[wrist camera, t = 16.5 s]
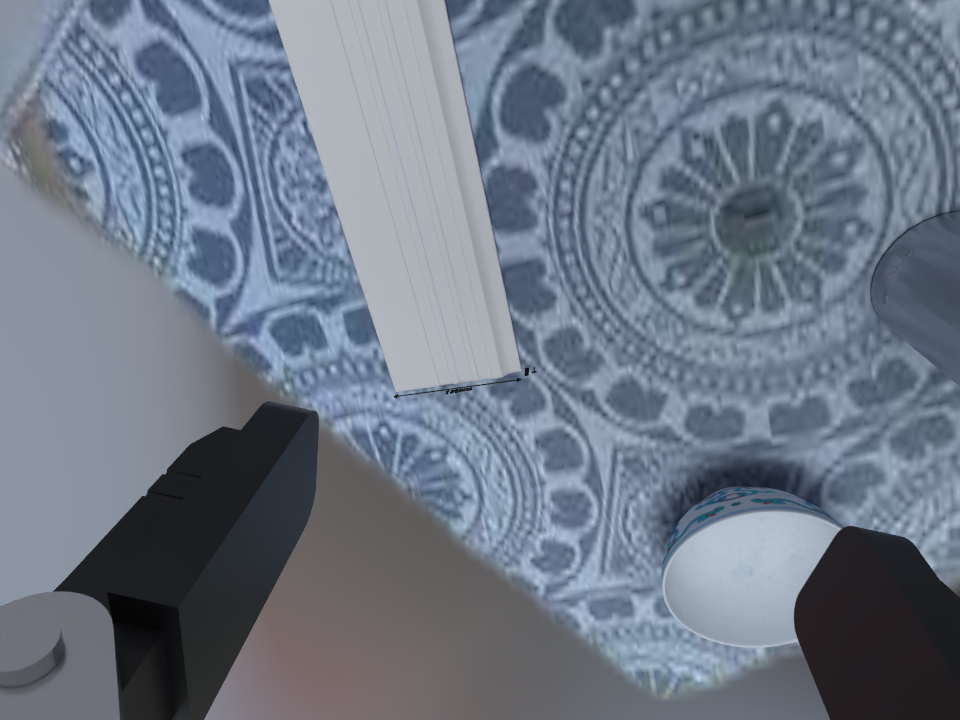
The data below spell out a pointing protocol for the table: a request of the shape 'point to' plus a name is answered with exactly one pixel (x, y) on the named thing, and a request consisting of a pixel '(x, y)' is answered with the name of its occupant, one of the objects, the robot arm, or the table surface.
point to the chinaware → (744, 564)
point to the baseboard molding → (405, 182)
